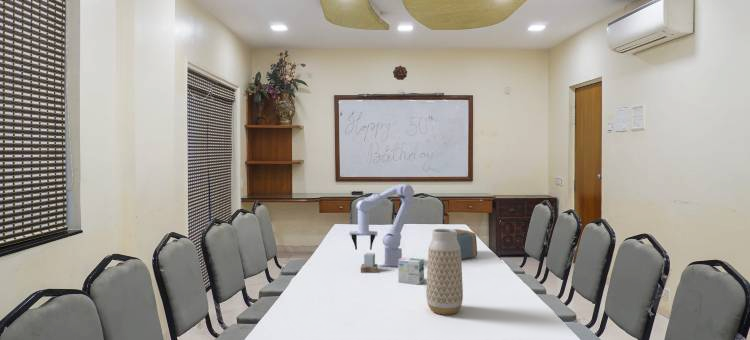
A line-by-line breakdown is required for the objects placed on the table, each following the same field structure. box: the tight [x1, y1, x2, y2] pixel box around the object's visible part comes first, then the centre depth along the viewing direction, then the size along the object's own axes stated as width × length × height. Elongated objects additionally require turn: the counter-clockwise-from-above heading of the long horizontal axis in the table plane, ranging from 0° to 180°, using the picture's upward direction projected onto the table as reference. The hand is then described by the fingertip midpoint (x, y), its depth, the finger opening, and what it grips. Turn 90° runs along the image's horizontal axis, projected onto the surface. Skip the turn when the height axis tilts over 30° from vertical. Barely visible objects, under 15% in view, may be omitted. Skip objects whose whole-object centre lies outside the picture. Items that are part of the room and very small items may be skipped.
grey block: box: [363, 252, 376, 267], centre depth 233 cm, size 4×4×6 cm
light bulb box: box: [397, 256, 425, 286], centre depth 213 cm, size 11×7×11 cm, turn 65°
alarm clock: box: [452, 228, 478, 261], centre depth 263 cm, size 16×16×16 cm
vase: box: [425, 228, 464, 316], centre depth 174 cm, size 14×14×31 cm
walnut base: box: [360, 263, 378, 274], centre depth 234 cm, size 8×8×3 cm
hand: (363, 249), depth 239 cm, fingers open, 7 cm apart
